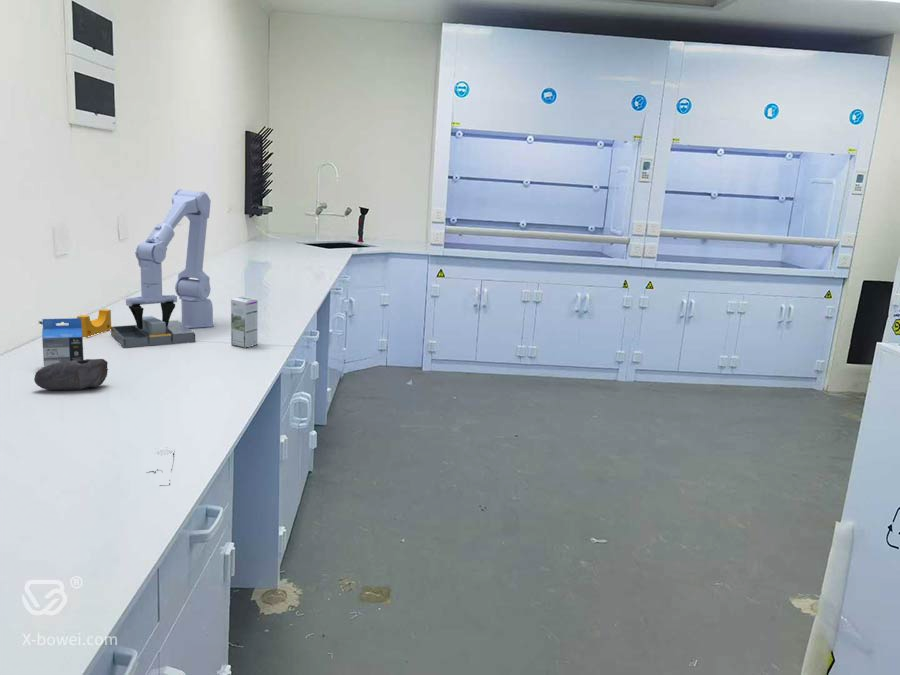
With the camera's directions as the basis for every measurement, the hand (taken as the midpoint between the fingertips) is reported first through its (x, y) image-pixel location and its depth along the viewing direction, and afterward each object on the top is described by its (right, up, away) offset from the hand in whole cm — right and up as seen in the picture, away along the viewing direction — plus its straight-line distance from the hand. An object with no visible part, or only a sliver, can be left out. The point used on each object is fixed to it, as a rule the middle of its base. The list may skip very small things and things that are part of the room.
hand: (152, 327), depth 204 cm
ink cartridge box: (-8, -11, -32) cm, 35 cm away
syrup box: (+27, -6, +1) cm, 28 cm away
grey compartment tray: (0, -3, +1) cm, 3 cm away
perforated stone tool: (+2, -15, -47) cm, 50 cm away
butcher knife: (+38, -27, -83) cm, 95 cm away
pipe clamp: (-19, -2, +2) cm, 20 cm away
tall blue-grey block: (-1, -3, +1) cm, 3 cm away
